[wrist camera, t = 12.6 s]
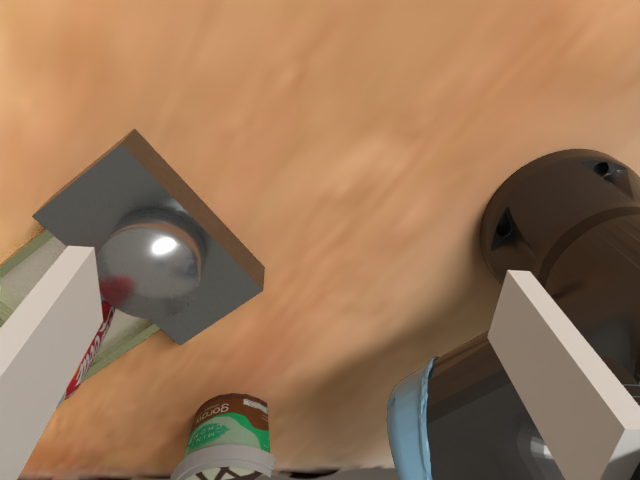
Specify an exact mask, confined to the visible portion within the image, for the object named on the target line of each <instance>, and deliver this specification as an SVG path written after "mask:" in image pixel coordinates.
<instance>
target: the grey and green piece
mask: <svg viewBox="0 0 640 480" xmlns="http://www.w3.org/2000/svg"><path fill="white" fill-rule="evenodd" d="M32 217H33V218H34V219H35V220H37V221H38V222H39V223H40V224H41V225H42V226H43V227H45V229H44V230H42V231H41V232H40V233H39V234H38V235H36V236H35V237H34V238H33V239H31V240H30V241H29V242H28V243H26V244H25V245H24V246H23V247H21V248H20V249H19V250H18V251H16V252H15V253H14V254H13V255H11V256H10V257H9V258H8V259H6V260H5V261H4V262H3V263H1V264H0V327H2V326H3V324H4V323H5V322H6V321H7V320H8V318H9V317H10V316H11V315H12V314H13V312H14V311H15V310H16V309H17V307H18V306H19V305H20V304H21V303H22V301H23V300H24V299H25V298H26V296H27V295H28V294H29V293H30V292H31V290H32V289H33V288H34V287H35V286H36V284H37V283H38V282H39V281H40V279H41V278H42V277H43V276H44V275H45V273H46V272H47V271H48V270H49V269H50V267H51V266H52V265H53V264H54V262H55V261H56V260H57V259H58V258H59V256H60V255H61V254H62V253H63V251H64V250H65V249H66V248H67V247H68V246H83V247H94V249H95V257H96V265H97V273H98V282H99V290H100V293H101V294H102V296H103V297H104V298H105V299H106V300H107V301H108V302H109V303H110V304H111V305H112V306H114V307H115V312H114V315H113V319H112V322H111V325H110V327H109V329H108V332H107V334H106V336H105V338H104V340H103V342H102V344H101V346H100V348H99V350H98V352H97V354H96V356H95V358H94V360H93V362H92V364H91V366H90V368H89V370H88V372H87V374H86V376H85V377H84V379H83V381H85V380H86V379H88V378H89V377H91V376H92V375H93V374H95V373H96V372H98V371H99V370H101V369H102V368H104V367H105V366H107V365H108V364H110V363H111V362H113V361H114V360H115V359H117V358H118V357H120V356H121V355H123V354H124V353H126V352H127V351H129V350H130V349H132V348H133V347H135V346H136V345H137V344H139V343H140V342H142V341H143V340H145V339H146V338H148V337H149V336H151V335H152V334H154V333H155V332H156V331H158V330H159V329H161V330H163V331H164V332H165V333H166V334H167V335H168V336H169V337H171V338H172V339H173V340H174V341H175V342H176V343H177V344H179V345H182V344H183V343H185V342H186V341H188V340H189V339H191V338H192V337H194V336H195V335H197V334H198V333H200V332H201V331H203V330H204V329H206V328H207V327H209V326H211V325H212V324H214V323H215V322H217V321H218V320H220V319H221V318H223V317H224V316H226V315H227V314H229V313H230V312H232V311H233V310H235V309H236V308H238V307H239V306H241V305H242V304H244V303H245V302H247V301H248V300H250V299H251V298H253V297H254V296H256V295H257V294H259V293H260V292H262V291H263V285H264V270H265V267H264V266H263V265H262V264H261V263H260V262H259V261H258V260H257V259H256V258H255V257H254V256H253V254H252V253H251V252H250V251H249V250H248V249H247V248H246V247H245V246H244V245H243V244H242V243H241V242H240V241H239V239H238V238H237V237H236V236H235V235H234V234H233V233H232V232H231V231H230V230H229V229H228V228H227V227H226V226H225V225H224V223H223V222H222V221H221V220H220V219H219V218H218V217H217V216H216V215H215V214H214V213H213V212H212V211H211V210H210V209H209V207H208V206H207V205H206V204H205V203H204V202H203V201H202V200H201V199H200V198H199V197H198V196H197V195H196V194H195V192H194V191H193V190H192V189H191V188H190V187H189V186H188V185H187V184H186V183H185V182H184V181H183V180H182V179H181V178H180V176H179V175H178V174H177V173H176V172H175V171H174V170H173V169H172V168H171V167H170V166H169V165H168V164H167V163H166V161H165V160H164V159H163V158H162V157H161V156H160V155H159V154H158V153H157V152H156V151H155V150H154V149H153V148H152V147H151V145H150V144H149V143H148V142H147V141H146V140H145V139H144V138H143V137H142V136H141V135H140V134H139V133H138V132H137V130H136V129H134V130H132V131H131V132H130V133H129V134H128V135H126V136H125V137H124V138H123V139H122V140H120V141H119V142H118V143H117V144H115V145H114V146H113V147H112V148H111V149H109V150H108V151H107V152H106V153H104V154H103V155H102V156H101V157H100V158H98V159H97V160H96V161H95V162H93V163H92V164H91V165H90V166H89V167H87V168H86V169H85V170H84V171H82V172H81V173H80V174H79V175H78V176H76V177H75V178H74V179H73V180H71V181H70V182H69V183H68V184H67V185H65V186H64V187H63V188H62V189H60V190H59V191H58V192H57V193H56V194H54V195H53V196H52V197H51V198H50V199H49V200H48V201H47V202H46V203H45V204H44V205H43V206H42V207H41V208H40V209H39V210H38V211H37V212H36V213H35V214H34V215H33V216H32ZM83 381H82V382H83ZM82 382H81V383H82Z"/></svg>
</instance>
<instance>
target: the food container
mask: <svg viewBox="0 0 640 480" xmlns="http://www.w3.org/2000/svg"><path fill="white" fill-rule="evenodd" d="M274 462H275V456H274V455H272V454H270V444H269V428H268V413H267V403H265V402H264V401H262V400H260V399H259V398H256V397H253V396H250V395H247V394H235V393H232V394H225V395H219V396H217V397H214V398H212V399H210V400H208V401H207V402H205V403H204V404H203V405H202V406H201V407H200V408H199V410H198V412H197V414H196V417H195V420H194V423H193V427H192V430H191V433H190V437H189V440H188V443H187V447H186V450H185V453H184V457H183V460H182V461H180V462H179V463H178V465H177V466H176V467H175V468H174V470H173V472H172V474H171V478H170V480H253V479H255V478H257V477H258V476H260V475H261V474H265V475H267V476H268V477H271V471H273V468H274Z"/></svg>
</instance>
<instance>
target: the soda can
mask: <svg viewBox="0 0 640 480" xmlns="http://www.w3.org/2000/svg"><path fill="white" fill-rule="evenodd" d="M100 298H101V306H102V314H103V322H102V324H101V326H100V328H99V330H98V331H97V333H96V335H95V337H94V339H93V341H92V342H91V344H90V346H89V348H88V350H87V352H86V354H85V355H84V357H83V359H82V361H81V363H80V365H79V366H78V368H77V370H76V372H75V374H74V376H73V378H72V379H71V381H70V383H69V385H68V387H67V389H66V390H65V392H64V394H63V396H62V398H61V400H60V402H59V403H58V405H57V407H56V408H58V407H59V406H60V405H61V404H62V403H63V401H64V400H66V399H67V398H69V397H70V396H71V395H73V394H74V393H75V391H76V390H77V389H78V388H79V386H80V384H81V382H82V381H83V379H84V377H85V376H86V374H87V372H88V370H89V368H90V366H91V364H92V362H93V360H94V358H95V356H96V354H97V352H98V350H99V348H100V346H101V344H102V342H103V340H104V338H105V336H106V334H107V332H108V329H109V327H110V325H111V322H112V319H113V315H114V312H115V307H114V306H112V305H111V304H110V303H109V302H108V301H107V300H106V299H105V298H104V297H103V296H102V294H101V293H100Z"/></svg>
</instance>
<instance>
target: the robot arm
mask: <svg viewBox="0 0 640 480" xmlns="http://www.w3.org/2000/svg"><path fill="white" fill-rule="evenodd" d="M480 245H481V251H482V254H483V257H484V260H485V262H486V264H487V265H488V267H489V269H490V270H491V271H492V273H493V274H494V276H495V277H496V279H497V280H498V281H499V282H500V283H501V284H502V285H503V286H502V290H501V293H500V296H499V300H498V303H497V306H496V310H495V313H494V316H493V320H492V323H491V326H490V330H489V331H487V332H485V333H483V334H481V335H480V336H478V337H476V338H474V339H472V340H470V341H469V342H467V343H465V344H463V345H461V346H459V347H458V348H456V349H454V350H452V351H450V352H448V353H447V354H445V355H443V356H441V357H437V356H436V357H434V358H432V359H430V360H429V361H428V363H427V365H426V366H424V367H422V368H421V369H419V370H418V371H416V372H414V373H413V374H411V375H409V376H408V377H406V378H405V379H403V380H401V381H400V382H399V383H398V384H397V385H396V386H395V387H394V389H393V390H392V392H391V394H390V397H389V401H388V406H387V430H388V437H389V443H390V448H391V453H392V457H393V461H394V464H395V468H396V471H397V474H398V477H399V480H640V177H639V176H638V175H637V174H636V173H635V172H634V171H633V170H632V169H630V168H629V167H628V166H626V165H625V164H623V163H621V162H620V161H618V160H616V159H614V158H613V157H611V156H609V155H607V154H604V153H601V152H598V151H594V150H588V149H570V150H563V151H558V152H554V153H551V154H548V155H545V156H543V157H540V158H538V159H536V160H534V161H532V162H530V163H529V164H527V165H525V166H524V167H522V168H521V169H519V170H518V171H517V172H516V173H514V174H513V175H512V176H511V177H510V178H509V179H508V180H507V181H506V182H505V183H504V184H503V185H502V186H501V187H500V188H499V190H498V191H497V192H496V194H495V195H494V197H493V198H492V200H491V201H490V203H489V205H488V207H487V209H486V212H485V214H484V217H483V221H482V225H481V231H480ZM102 322H103V314H102V306H101V298H100V290H99V282H98V273H97V265H96V257H95V249H94V247H83V246H68V247H67V248H66V249H65V250H64V251H63V253H62V254H61V255H60V256H59V258H58V259H57V260H56V261H55V262H54V264H53V265H52V266H51V267H50V269H49V270H48V271H47V272H46V273H45V275H44V276H43V277H42V278H41V279H40V281H39V282H38V283H37V284H36V286H35V287H34V288H33V289H32V290H31V292H30V293H29V294H28V295H27V296H26V298H25V299H24V300H23V301H22V303H21V304H20V305H19V306H18V307H17V309H16V310H15V311H14V312H13V314H12V315H11V316H10V317H9V318H8V320H7V321H6V322H5V323H4V324H3V326H2V327H1V328H0V480H17V479H18V477H19V475H20V474H21V472H22V470H23V468H24V466H25V464H26V462H27V461H28V459H29V457H30V455H31V453H32V451H33V450H34V448H35V446H36V444H37V442H38V440H39V438H40V437H41V435H42V433H43V431H44V429H45V427H46V426H47V424H48V422H49V420H50V418H51V416H52V414H53V413H54V411H55V409H56V407H57V405H58V403H59V402H60V400H61V398H62V396H63V394H64V392H65V390H66V389H67V387H68V385H69V383H70V381H71V379H72V378H73V376H74V374H75V372H76V370H77V368H78V366H79V365H80V363H81V361H82V359H83V357H84V355H85V354H86V352H87V350H88V348H89V346H90V344H91V342H92V341H93V339H94V337H95V335H96V333H97V331H98V330H99V328H100V326H101V324H102Z"/></svg>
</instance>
